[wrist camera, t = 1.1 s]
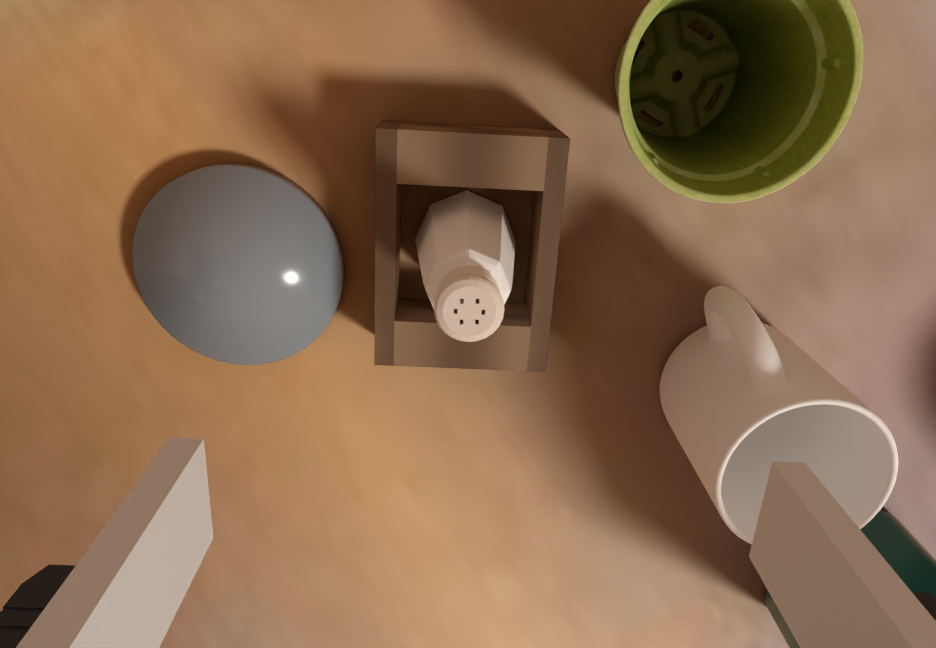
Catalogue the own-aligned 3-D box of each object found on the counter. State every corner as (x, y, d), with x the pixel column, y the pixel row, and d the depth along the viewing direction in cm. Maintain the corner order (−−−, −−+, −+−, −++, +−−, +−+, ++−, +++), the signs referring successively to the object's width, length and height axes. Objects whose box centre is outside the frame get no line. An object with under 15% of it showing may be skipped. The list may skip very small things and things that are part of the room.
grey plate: (151, 353, 40) (144, 360, 39) (127, 157, 36) (119, 160, 35) (346, 361, 41) (343, 368, 40) (343, 168, 36) (340, 171, 36)
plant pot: (640, -69, 33) (700, -105, 25) (807, 24, 34) (915, 18, 26) (548, 121, 36) (575, 143, 28) (705, 197, 37) (774, 240, 29)
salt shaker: (517, 190, 37) (542, 246, 27) (513, 288, 39) (534, 374, 29) (414, 188, 37) (399, 243, 27) (415, 286, 39) (401, 373, 29)
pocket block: (380, 338, 40) (374, 364, 37) (382, 120, 36) (375, 128, 32) (538, 345, 40) (545, 371, 37) (559, 129, 36) (570, 138, 33)
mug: (621, 285, 39) (675, 363, 30) (767, 233, 38) (872, 296, 29) (675, 457, 43) (737, 574, 34) (808, 414, 42) (911, 522, 33)
